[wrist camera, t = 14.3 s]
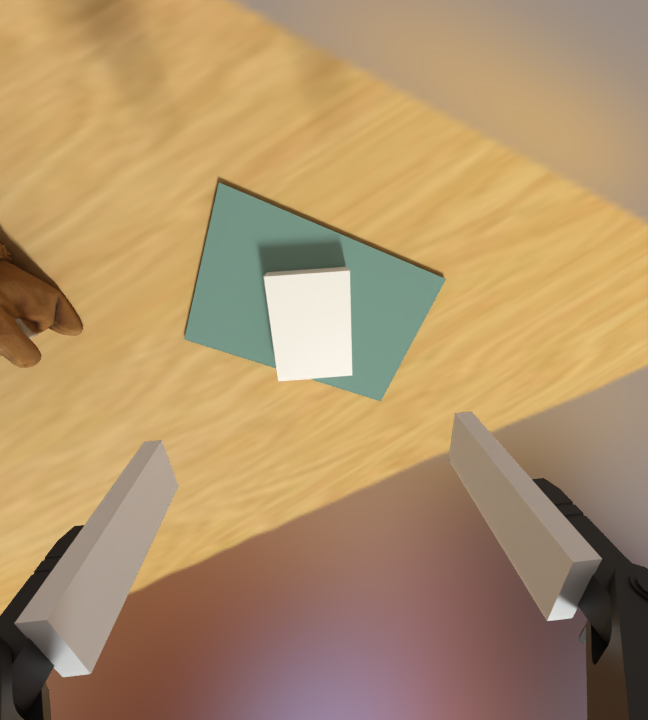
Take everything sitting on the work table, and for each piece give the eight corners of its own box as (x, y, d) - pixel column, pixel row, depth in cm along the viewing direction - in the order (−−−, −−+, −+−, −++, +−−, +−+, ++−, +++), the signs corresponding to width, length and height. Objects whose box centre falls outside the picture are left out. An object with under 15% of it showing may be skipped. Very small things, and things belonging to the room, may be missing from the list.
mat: (185, 337, 34) (184, 339, 33) (220, 182, 28) (218, 182, 27) (379, 399, 38) (380, 401, 38) (443, 278, 33) (446, 278, 32)
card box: (278, 381, 33) (263, 276, 28) (280, 369, 35) (267, 271, 31) (352, 375, 33) (350, 270, 28) (348, 363, 36) (345, 266, 31)
